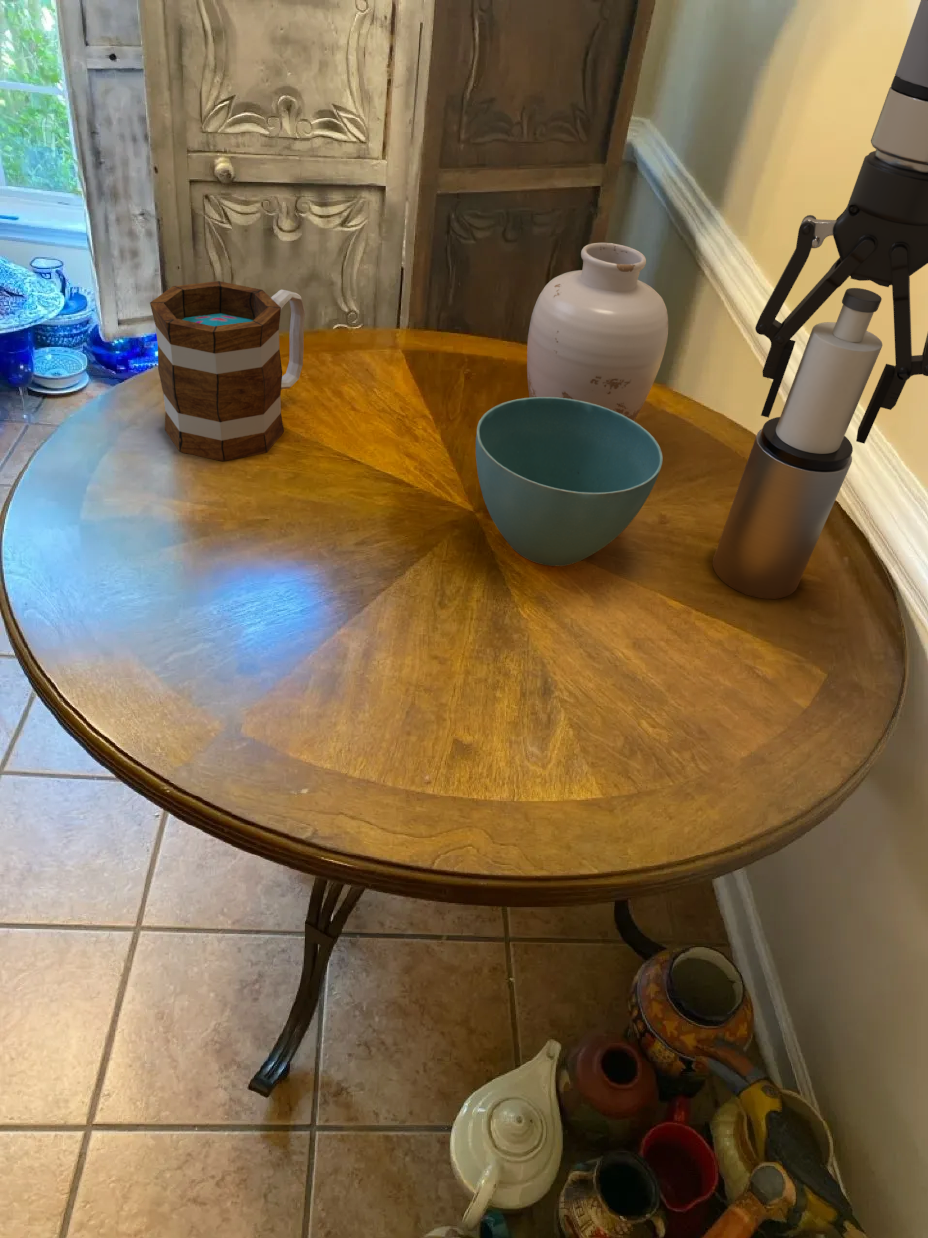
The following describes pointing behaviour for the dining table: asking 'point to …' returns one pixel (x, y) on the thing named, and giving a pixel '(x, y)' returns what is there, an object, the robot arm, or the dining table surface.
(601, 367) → the vase
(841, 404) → the bottle
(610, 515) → the plant pot
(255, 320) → the mug
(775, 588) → the metal canister
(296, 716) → the dining table surface
